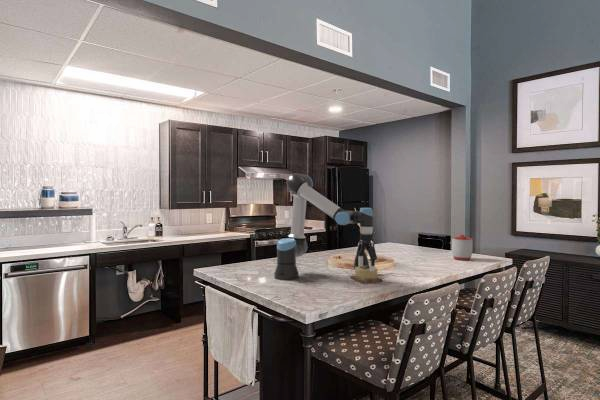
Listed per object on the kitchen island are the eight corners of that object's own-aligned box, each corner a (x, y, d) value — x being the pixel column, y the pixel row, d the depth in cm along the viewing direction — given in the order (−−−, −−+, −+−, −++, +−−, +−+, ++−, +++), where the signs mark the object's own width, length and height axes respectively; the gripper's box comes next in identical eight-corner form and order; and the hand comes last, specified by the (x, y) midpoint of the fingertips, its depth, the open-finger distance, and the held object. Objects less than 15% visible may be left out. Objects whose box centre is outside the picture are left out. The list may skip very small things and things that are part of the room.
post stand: (361, 283, 210) (361, 269, 210) (350, 278, 223) (350, 264, 223) (382, 281, 215) (382, 267, 215) (370, 276, 228) (370, 263, 228)
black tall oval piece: (351, 274, 235) (351, 250, 235) (356, 271, 244) (356, 248, 244) (366, 276, 230) (366, 251, 230) (371, 272, 239) (371, 249, 239)
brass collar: (363, 279, 213) (363, 269, 213) (355, 276, 222) (355, 266, 222) (377, 278, 216) (377, 268, 216) (369, 275, 225) (369, 265, 225)
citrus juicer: (455, 256, 302) (455, 232, 302) (476, 259, 288) (476, 234, 288) (445, 258, 292) (445, 233, 292) (467, 261, 279) (467, 235, 278)
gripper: (383, 235, 208) (383, 272, 208) (361, 231, 232) (361, 264, 232) (371, 236, 205) (371, 273, 206) (351, 231, 229) (351, 265, 229)
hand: (366, 268), depth 219 cm, fingers open, 13 cm apart
